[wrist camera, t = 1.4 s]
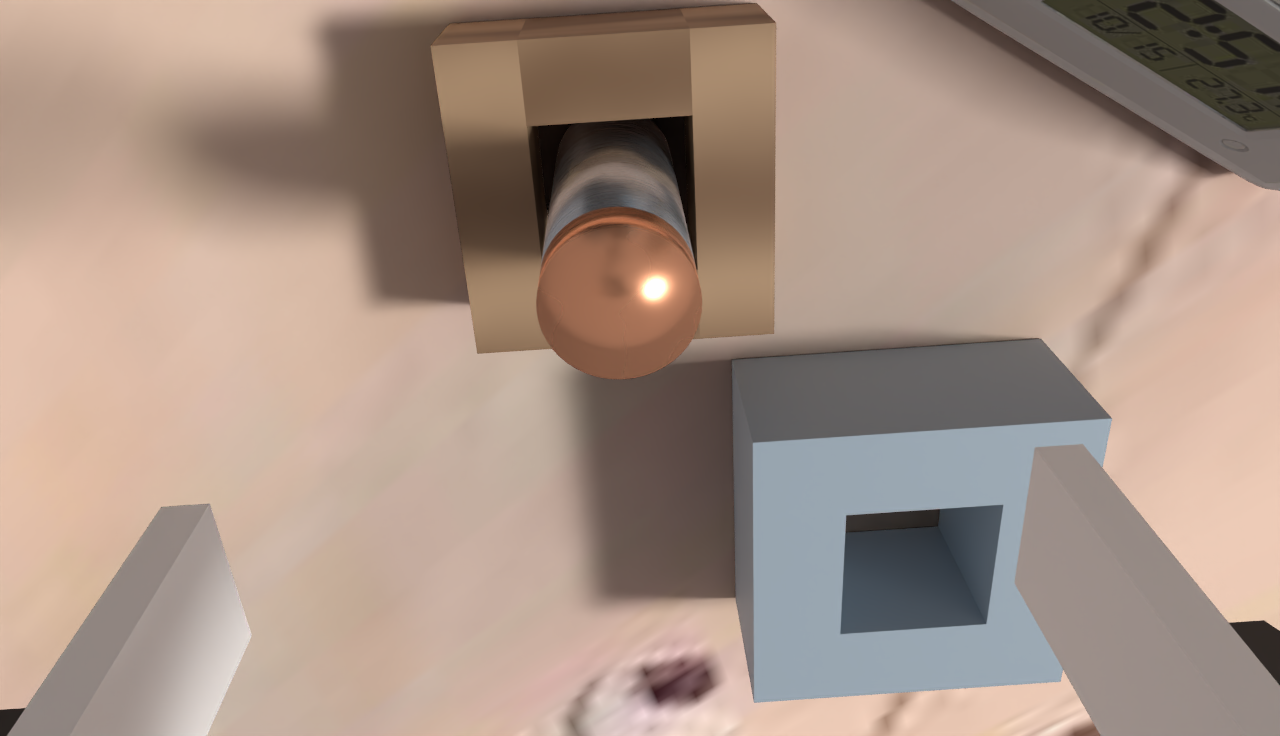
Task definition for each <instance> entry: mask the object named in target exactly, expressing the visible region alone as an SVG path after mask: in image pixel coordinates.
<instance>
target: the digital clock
mask: <svg viewBox="0 0 1280 736" xmlns="http://www.w3.org/2000/svg"><path fill="white" fill-rule="evenodd" d="M951 1H953V2H955V3H956V4H958V5H959V6H961V7H962V8H964V9H966V10H967V11H969V12H970V13H972V14H974V15H975V16H977V17H978V18H980V19H981V20H983V21H985V22H986V23H988V24H989V25H991V26H993V27H994V28H996V29H998V30H999V31H1001V32H1003V33H1004V34H1006V35H1008V36H1009V37H1011V38H1012V39H1014V40H1016V41H1017V42H1019V43H1021V44H1022V45H1024V46H1026V47H1027V48H1029V49H1030V50H1032V51H1034V52H1035V53H1037V54H1039V55H1040V56H1042V57H1044V58H1045V59H1047V60H1049V61H1050V62H1052V63H1053V64H1055V65H1057V66H1058V67H1060V68H1062V69H1063V70H1065V71H1067V72H1068V73H1070V74H1072V75H1073V76H1075V77H1076V78H1078V79H1080V80H1081V81H1083V82H1085V83H1086V84H1088V85H1090V86H1091V87H1093V88H1094V89H1096V90H1098V91H1099V92H1101V93H1103V94H1104V95H1106V96H1108V97H1109V98H1111V99H1113V100H1114V101H1116V102H1117V103H1119V104H1121V105H1122V106H1124V107H1126V108H1127V109H1129V110H1131V111H1132V112H1134V113H1135V114H1137V115H1139V116H1140V117H1142V118H1144V119H1145V120H1147V121H1149V122H1150V123H1152V124H1154V125H1155V126H1157V127H1158V128H1160V129H1162V130H1163V131H1165V132H1167V133H1168V134H1170V135H1172V136H1173V137H1175V138H1177V139H1178V140H1180V141H1181V142H1183V143H1185V144H1186V145H1188V146H1190V147H1191V148H1193V149H1195V150H1196V151H1198V152H1199V153H1201V154H1203V155H1204V156H1206V157H1208V158H1209V159H1211V160H1213V161H1214V162H1216V163H1218V164H1219V165H1221V166H1223V167H1225V168H1226V169H1228V170H1230V171H1231V172H1233V173H1235V174H1236V175H1238V176H1240V177H1242V178H1243V179H1245V180H1247V181H1248V182H1251V183H1253V184H1255V185H1257V186H1259V187H1262V188H1265V189H1271V190H1278V191H1280V0H951Z"/></svg>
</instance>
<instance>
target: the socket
mask: <svg viewBox="0 0 1280 736" xmlns="http://www.w3.org/2000/svg"><path fill="white" fill-rule="evenodd" d="M732 403H733V466H734V528H735V590H736V604H737V609H738V615H739V620H740V626H741V632H742V637H743V643H744V649H745V654H746V660H747V665H748V671H749V677H750V682H751V688H752V694H753V699H754V703H756V702H770V701H785V700H799V699H814V698H829V697H843V696H858V695H872V694H887V693H902V692H916V691H931V690H945V689H960V688H974V687H989V686H1004V685H1018V684H1033V683H1047V682H1060V681H1061V676H1062V671H1063V668H1062V666H1061V665H1060V663H1059V661H1058V659H1057V658H1056V656H1055V654H1054V652H1053V651H1052V649H1051V647H1050V645H1049V643H1048V642H1047V640H1046V638H1045V636H1044V635H1043V633H1042V631H1041V629H1040V628H1039V626H1038V624H1037V622H1036V620H1035V619H1034V617H1033V615H1032V613H1031V612H1030V610H1029V608H1028V606H1027V605H1026V603H1025V601H1024V599H1023V598H1022V596H1021V594H1020V592H1019V590H1018V589H1017V587H1016V585H1015V583H1014V582H1015V575H1016V568H1017V562H1018V555H1019V548H1020V542H1021V535H1022V529H1023V522H1024V515H1025V509H1026V502H1027V496H1028V489H1029V482H1030V476H1031V469H1032V463H1033V456H1034V449H1035V447H1047V446H1061V445H1076V444H1083V445H1084V446H1085V447H1086V449H1087V450H1088V451H1089V452H1090V453H1091V455H1092V456H1093V457H1094V458H1095V460H1096V461H1097V462H1098V463H1099V464H1100V466H1101V467H1103V462H1104V457H1105V452H1106V447H1107V441H1108V436H1109V431H1110V426H1111V421H1112V418H1111V417H1110V416H1109V415H1108V413H1107V412H1106V411H1105V410H1104V409H1103V408H1102V407H1101V406H1100V404H1099V403H1098V402H1097V401H1096V400H1095V399H1094V398H1093V397H1092V395H1091V394H1090V393H1089V392H1088V391H1087V390H1086V389H1085V388H1084V387H1083V385H1082V384H1081V383H1080V382H1079V381H1078V380H1077V379H1076V378H1075V376H1074V375H1073V374H1072V373H1071V372H1070V371H1069V370H1068V369H1067V367H1066V366H1065V365H1064V364H1063V363H1062V362H1061V361H1060V360H1059V358H1058V357H1057V356H1056V355H1055V354H1054V353H1053V352H1052V351H1051V350H1050V348H1049V347H1048V346H1047V345H1046V344H1045V343H1044V342H1043V341H1042V339H1031V340H1016V341H1001V342H986V343H971V344H957V345H942V346H927V347H912V348H897V349H883V350H868V351H853V352H838V353H823V354H809V355H794V356H779V357H764V358H749V359H735V360H732ZM932 509H940V514H939V523H938V526H937V527H922V528H908V529H893V530H878V531H864V532H849V533H845V530H846V515H858V514H873V513H888V512H902V511H917V510H932Z"/></svg>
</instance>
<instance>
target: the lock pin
mask: <svg viewBox="0 0 1280 736" xmlns="http://www.w3.org/2000/svg"><path fill="white" fill-rule="evenodd" d="M536 311H537V317H538V322H539V325H540V328H541V331H542V333H543V335H544V337H545V339H546V341H547V342H548V344H549V345H550V346H551V348H552V349H553V350H554V351H555V352H556V353H557V355H558V356H559V357H561V358H562V359H563V360H564V361H565V362H567V363H568V364H570V365H571V366H573V367H574V368H576V369H578V370H580V371H582V372H584V373H587V374H590V375H593V376H596V377H601V378H606V379H631V378H637V377H641V376H645V375H648V374H651V373H653V372H656V371H658V370H660V369H662V368H663V367H665V366H667V365H668V364H670V363H671V362H673V361H674V360H675V359H676V358H677V357H678V356H679V355H680V354H681V353H682V352H683V351H684V350H685V349H686V348H687V346H688V345H689V343H690V342H691V340H692V339H693V337H694V335H695V333H696V331H697V328H698V325H699V322H700V319H701V313H702V293H701V287H700V283H699V278H698V274H697V270H696V265H695V261H694V256H693V252H692V247H691V243H690V238H689V234H688V229H687V225H686V220H685V216H684V211H683V207H682V202H681V198H680V193H679V189H678V185H677V180H676V176H675V171H674V167H673V162H672V158H671V153H670V149H669V145H668V143H667V140H666V138H665V136H664V135H663V133H662V131H661V130H660V129H659V127H658V126H657V125H656V124H655V123H654V122H653V121H652V120H651V119H649V118H646V119H631V120H616V121H601V122H586V123H573V124H572V125H571V126H570V127H569V128H568V130H567V131H566V132H565V134H564V136H563V138H562V140H561V142H560V145H559V148H558V152H557V158H556V165H555V172H554V179H553V186H552V193H551V200H550V207H549V213H548V220H547V227H546V234H545V241H544V248H543V255H542V262H541V269H540V275H539V282H538V289H537V298H536Z"/></svg>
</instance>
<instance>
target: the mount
mask: <svg viewBox="0 0 1280 736" xmlns="http://www.w3.org/2000/svg"><path fill="white" fill-rule="evenodd" d="M430 47H431V54H432V60H433V67H434V73H435V80H436V86H437V93H438V99H439V106H440V112H441V119H442V126H443V132H444V139H445V145H446V152H447V158H448V165H449V171H450V178H451V184H452V191H453V197H454V204H455V210H456V217H457V223H458V230H459V237H460V243H461V250H462V256H463V263H464V269H465V276H466V282H467V289H468V295H469V302H470V308H471V315H472V321H473V328H474V334H475V341H476V348H477V354H480V353H495V352H509V351H524V350H539V349H552V348H551V346H550V345H549V344H548V342H547V341H546V339H545V337H544V335H543V333H542V331H541V328H540V325H539V322H538V317H537V311H536V298H537V289H538V282H539V275H540V269H541V262H542V255H543V248H544V241H545V234H546V227H547V220H548V216H547V207H546V198H545V189H544V179H543V170H542V161H541V151H540V142H539V133H538V126H541V125H556V124H571V123H586V122H601V121H616V120H631V119H646V118H661V117H676V116H684V130H685V157H686V184H687V211H688V228H687V229H688V234H689V238H690V243H691V247H692V252H693V256H694V261H695V265H696V270H697V274H698V278H699V283H700V287H701V293H702V313H701V319H700V322H699V325H698V328H697V331H696V333H695V335H694V337H693V339H702V338H717V337H732V336H747V335H761V334H774V266H775V117H776V22H775V21H774V20H773V19H772V18H771V17H770V16H769V15H768V14H767V13H766V12H765V11H764V10H763V9H762V8H761V7H760V6H759V5H758V4H757V3H754V4H739V5H724V6H709V7H694V8H679V9H664V10H649V11H634V12H619V13H604V14H589V15H574V16H559V17H544V18H528V19H513V20H498V21H483V22H468V23H453V24H449V25H448V26H447V27H446V28H445V29H444V31H443V32H442V33H441V34H440V35H439V36H438V38H437V39H436V40H435V41H434V42H433V43H432V44H431V46H430Z"/></svg>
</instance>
